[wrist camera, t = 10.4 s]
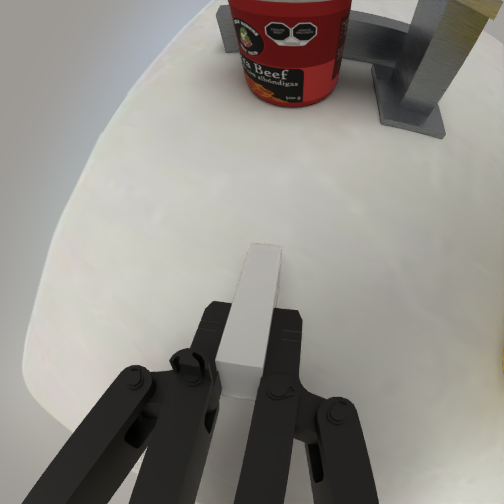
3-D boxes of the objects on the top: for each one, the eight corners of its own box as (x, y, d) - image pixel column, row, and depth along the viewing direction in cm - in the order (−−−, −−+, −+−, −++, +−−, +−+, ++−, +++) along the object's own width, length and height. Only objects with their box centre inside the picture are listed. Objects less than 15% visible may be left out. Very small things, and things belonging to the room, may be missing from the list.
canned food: (229, 76, 21) (201, -23, 10) (297, 43, 21) (295, -48, 10) (284, 125, 20) (279, 6, 9) (354, 86, 20) (378, -15, 9)
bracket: (442, 138, 18) (535, 11, 2) (209, 110, 21) (137, -58, 5) (419, 64, 20) (464, -49, 4) (229, 41, 22) (194, -87, 6)
